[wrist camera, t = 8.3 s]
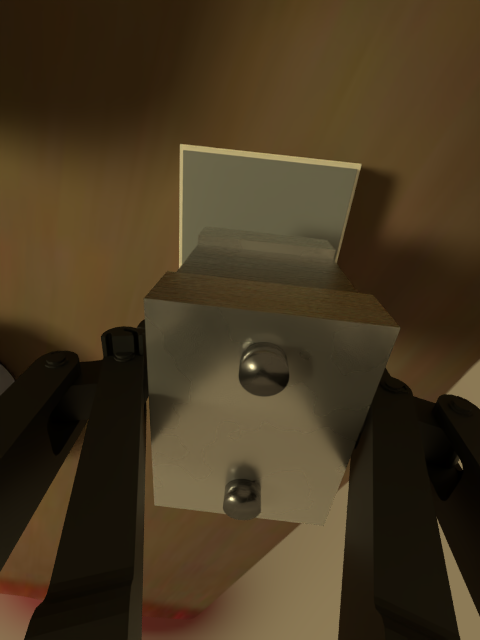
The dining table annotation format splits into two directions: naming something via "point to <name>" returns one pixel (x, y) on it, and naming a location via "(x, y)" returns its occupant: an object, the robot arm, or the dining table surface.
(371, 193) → the dining table surface
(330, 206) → the plinth
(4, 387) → the bowl
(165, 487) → the housing
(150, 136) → the dining table surface
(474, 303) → the dining table surface
